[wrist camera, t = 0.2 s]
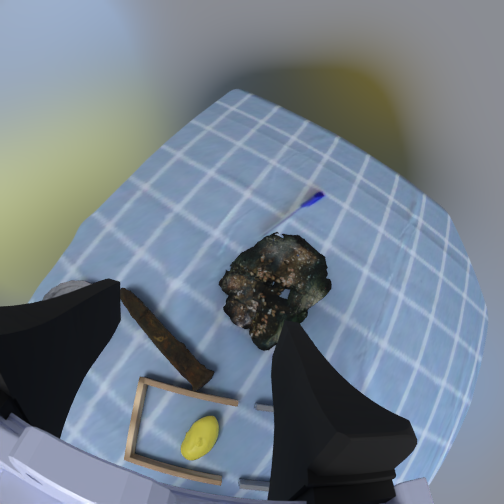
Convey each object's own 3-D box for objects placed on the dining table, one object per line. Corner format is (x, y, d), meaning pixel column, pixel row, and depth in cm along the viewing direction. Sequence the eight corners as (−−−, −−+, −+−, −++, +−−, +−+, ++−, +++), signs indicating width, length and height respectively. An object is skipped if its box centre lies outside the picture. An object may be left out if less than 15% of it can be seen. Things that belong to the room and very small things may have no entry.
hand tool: (216, 375, 38) (216, 374, 34) (196, 392, 37) (193, 393, 33) (138, 283, 43) (131, 272, 39) (120, 297, 42) (110, 288, 37)
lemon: (174, 447, 33) (170, 453, 29) (204, 408, 36) (203, 411, 32) (198, 462, 32) (196, 470, 28) (228, 423, 35) (229, 428, 32)
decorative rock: (287, 363, 36) (195, 302, 38) (277, 362, 42) (197, 309, 43) (348, 257, 43) (269, 204, 44) (333, 268, 49) (262, 221, 50)
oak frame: (220, 480, 31) (220, 485, 29) (128, 456, 31) (123, 459, 28) (237, 399, 37) (238, 401, 35) (144, 376, 37) (139, 376, 34)
